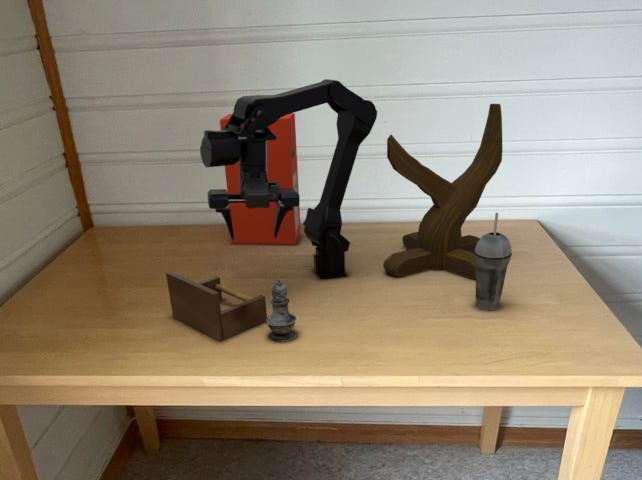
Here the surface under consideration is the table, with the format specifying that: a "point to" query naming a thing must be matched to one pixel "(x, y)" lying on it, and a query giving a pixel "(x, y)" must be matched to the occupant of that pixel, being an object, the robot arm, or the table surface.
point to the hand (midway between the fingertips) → (253, 238)
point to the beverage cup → (491, 268)
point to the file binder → (281, 169)
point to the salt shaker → (280, 315)
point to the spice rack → (213, 307)
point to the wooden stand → (446, 207)
